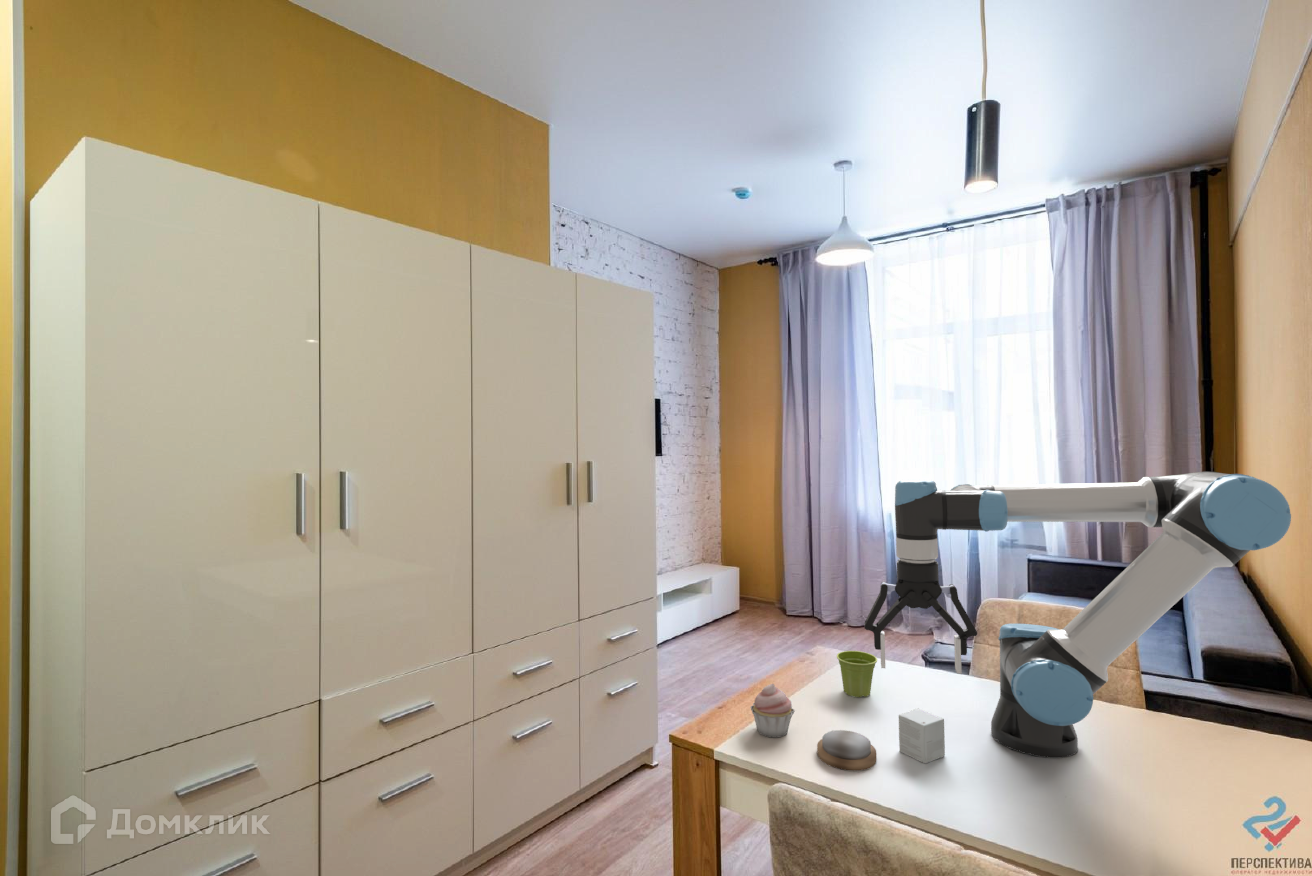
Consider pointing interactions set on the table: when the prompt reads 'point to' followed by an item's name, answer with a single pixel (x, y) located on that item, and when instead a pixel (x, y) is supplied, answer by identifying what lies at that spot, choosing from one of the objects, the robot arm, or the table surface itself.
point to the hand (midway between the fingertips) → (920, 668)
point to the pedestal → (846, 750)
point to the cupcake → (772, 712)
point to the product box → (921, 735)
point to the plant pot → (856, 672)
